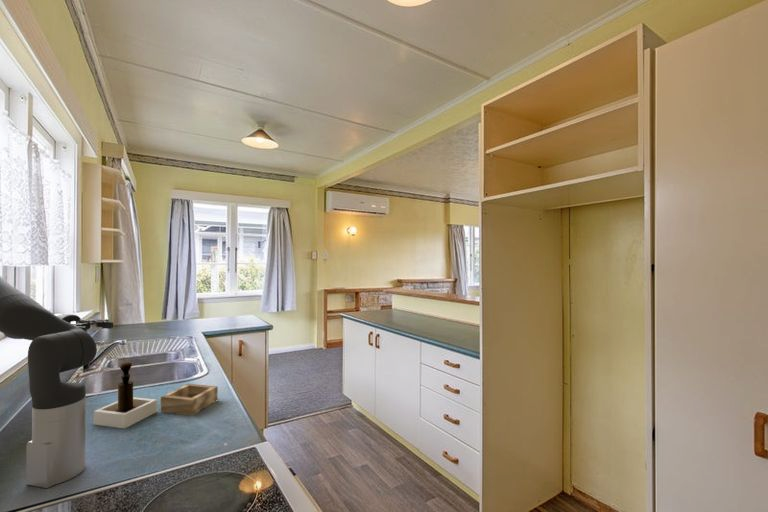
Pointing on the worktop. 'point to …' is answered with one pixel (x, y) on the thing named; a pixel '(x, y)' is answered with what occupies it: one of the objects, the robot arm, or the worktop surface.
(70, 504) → the worktop surface
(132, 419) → the tray
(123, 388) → the dark pepper mill
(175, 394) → the socket
